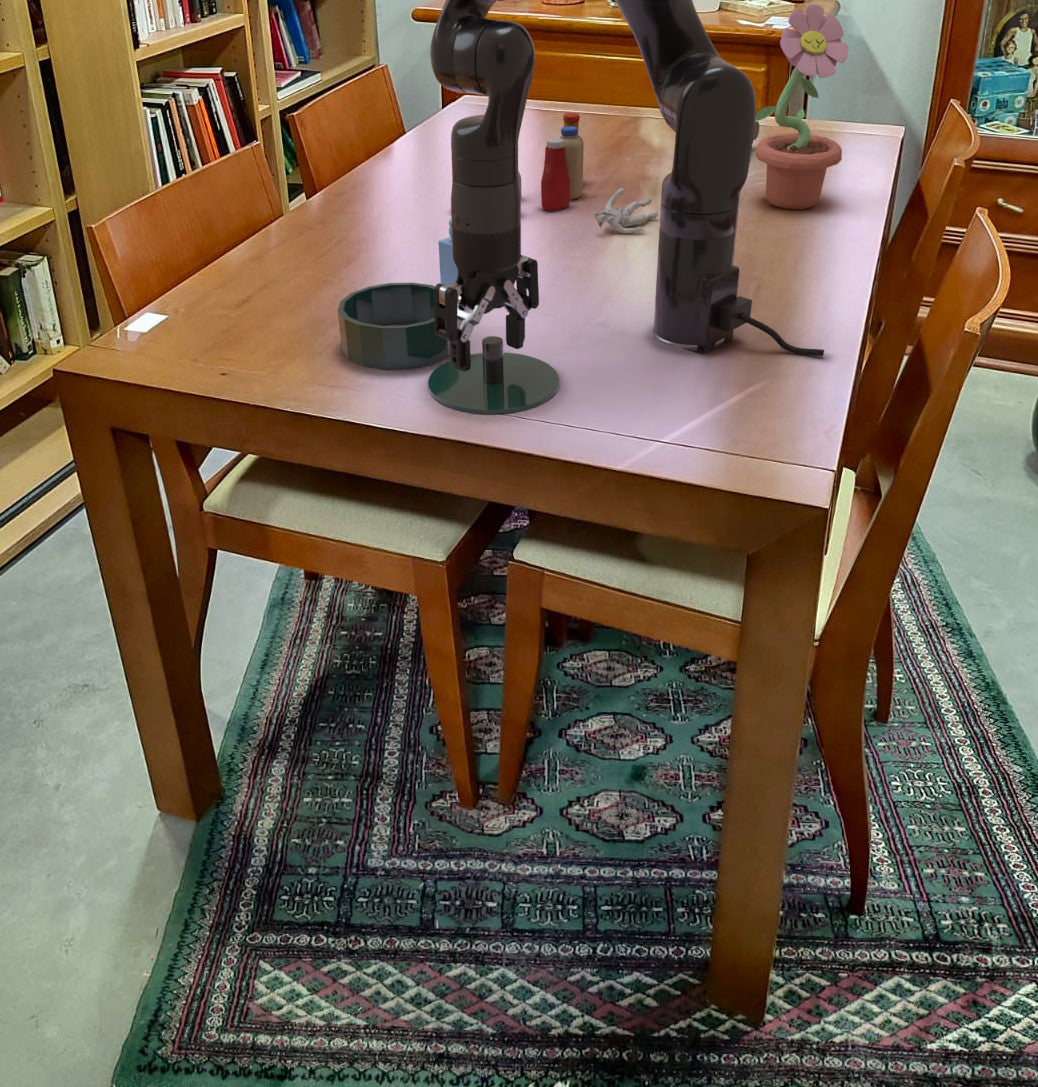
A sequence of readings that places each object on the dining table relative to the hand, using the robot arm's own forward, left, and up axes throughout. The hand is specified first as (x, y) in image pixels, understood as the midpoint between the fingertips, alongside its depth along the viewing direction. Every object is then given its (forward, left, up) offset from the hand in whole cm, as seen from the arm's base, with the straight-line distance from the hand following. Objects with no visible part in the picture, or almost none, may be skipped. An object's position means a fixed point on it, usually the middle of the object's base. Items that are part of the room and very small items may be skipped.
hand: (489, 357), depth 131 cm
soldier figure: (+24, -55, -4) cm, 60 cm away
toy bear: (+21, -16, -4) cm, 27 cm away
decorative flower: (+11, -82, -4) cm, 83 cm away
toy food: (+44, -54, -4) cm, 70 cm away
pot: (+16, 0, -4) cm, 16 cm away
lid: (-1, 0, -3) cm, 3 cm away
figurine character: (+35, -99, -4) cm, 105 cm away
